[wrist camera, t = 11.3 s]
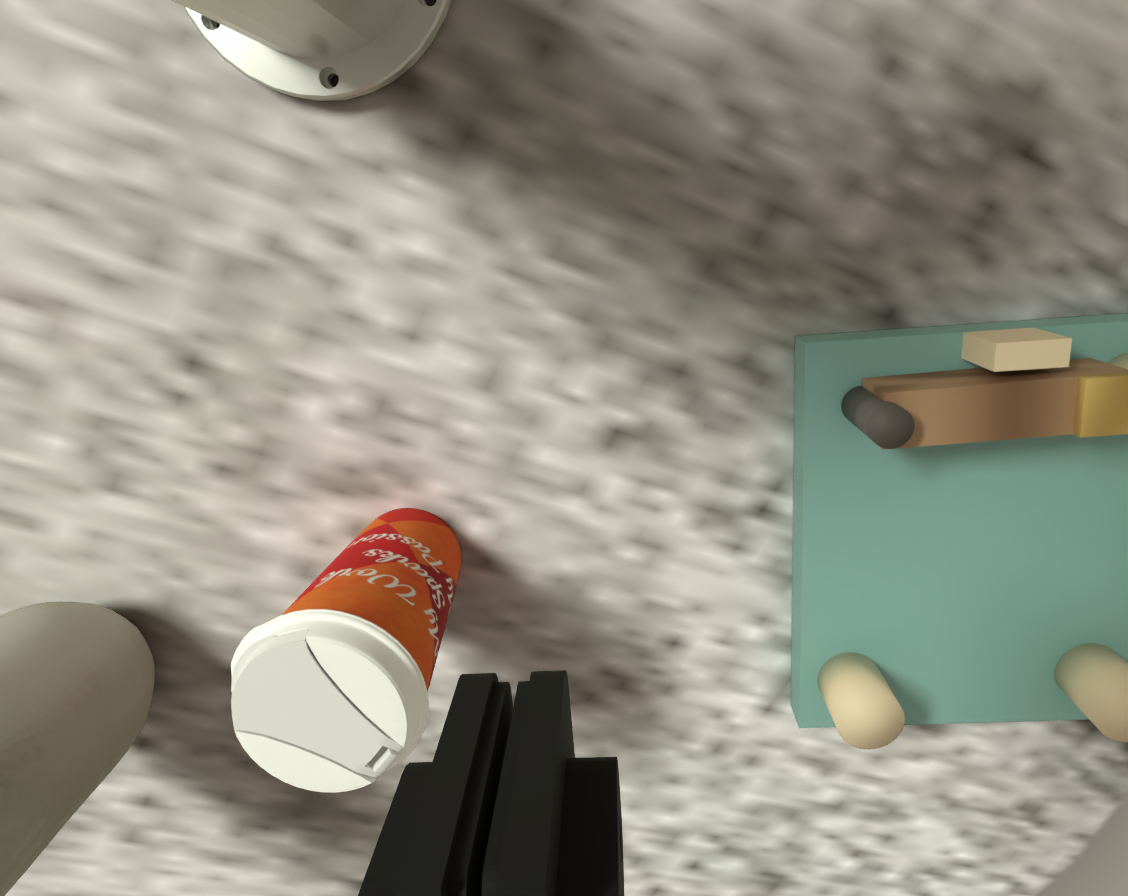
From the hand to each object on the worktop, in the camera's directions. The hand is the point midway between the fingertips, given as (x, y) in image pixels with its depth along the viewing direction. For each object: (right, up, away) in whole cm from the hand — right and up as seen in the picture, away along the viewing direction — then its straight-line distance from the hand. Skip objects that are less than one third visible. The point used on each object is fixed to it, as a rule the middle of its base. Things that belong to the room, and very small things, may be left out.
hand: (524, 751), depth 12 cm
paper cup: (-8, -1, +29) cm, 30 cm away
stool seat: (+21, +1, +27) cm, 34 cm away
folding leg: (+19, +7, +23) cm, 30 cm away
